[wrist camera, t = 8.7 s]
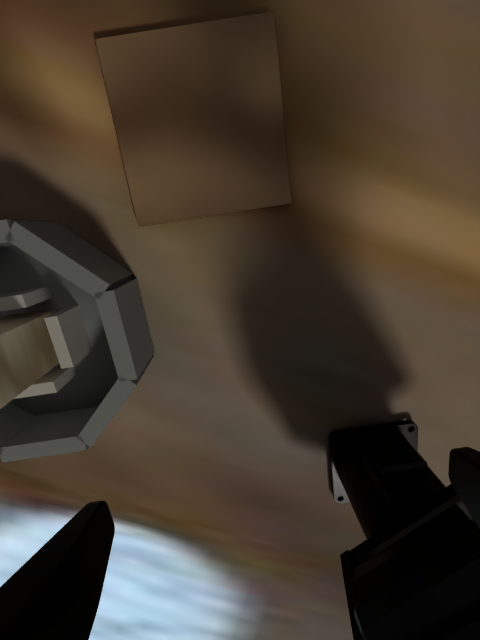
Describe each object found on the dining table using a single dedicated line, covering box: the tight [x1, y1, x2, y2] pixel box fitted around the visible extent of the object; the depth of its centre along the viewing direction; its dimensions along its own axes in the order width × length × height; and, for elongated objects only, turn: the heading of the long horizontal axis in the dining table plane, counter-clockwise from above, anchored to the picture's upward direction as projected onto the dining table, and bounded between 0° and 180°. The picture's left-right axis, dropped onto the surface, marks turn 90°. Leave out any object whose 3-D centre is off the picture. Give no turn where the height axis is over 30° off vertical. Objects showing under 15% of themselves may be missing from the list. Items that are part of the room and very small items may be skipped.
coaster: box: [95, 11, 291, 226], centre depth 17 cm, size 9×9×1 cm
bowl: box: [0, 219, 154, 462], centre depth 18 cm, size 13×13×4 cm
